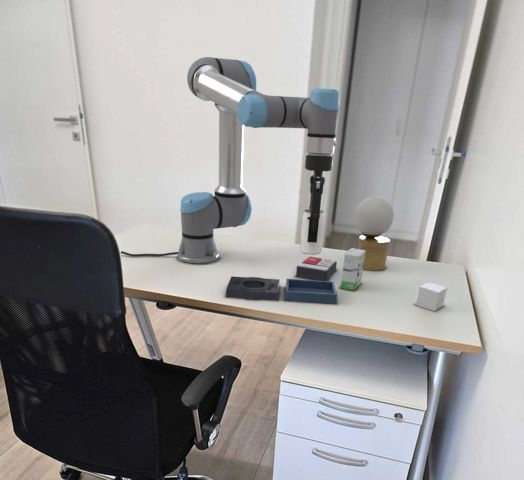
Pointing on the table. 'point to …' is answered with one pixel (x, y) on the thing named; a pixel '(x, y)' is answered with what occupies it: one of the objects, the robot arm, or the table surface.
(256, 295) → the plate
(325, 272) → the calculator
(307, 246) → the can
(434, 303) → the white cube
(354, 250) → the ink box
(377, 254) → the lamp
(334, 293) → the blue tray
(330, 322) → the table surface
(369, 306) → the table surface
